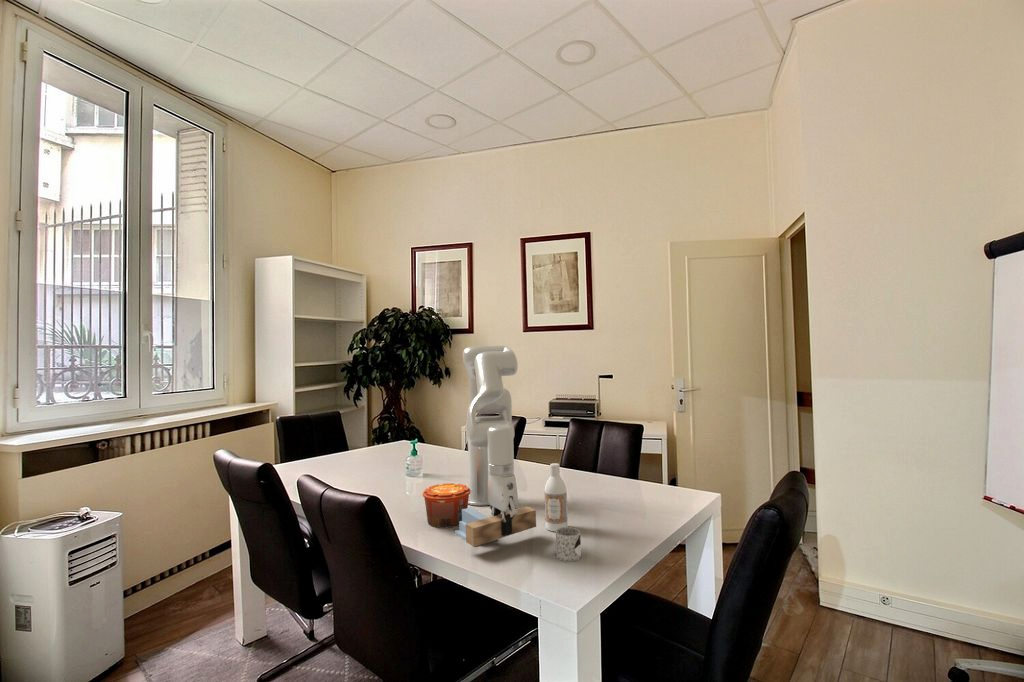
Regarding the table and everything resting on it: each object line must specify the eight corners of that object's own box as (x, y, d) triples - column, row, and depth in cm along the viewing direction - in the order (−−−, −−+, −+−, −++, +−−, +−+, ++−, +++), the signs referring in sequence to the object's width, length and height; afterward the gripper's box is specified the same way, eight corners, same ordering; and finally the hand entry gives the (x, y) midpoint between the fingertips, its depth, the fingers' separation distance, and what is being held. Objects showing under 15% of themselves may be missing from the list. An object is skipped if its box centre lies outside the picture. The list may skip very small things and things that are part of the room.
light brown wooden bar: (527, 522, 146) (527, 506, 146) (536, 526, 142) (535, 509, 142) (466, 542, 133) (465, 524, 133) (473, 546, 129) (473, 528, 129)
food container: (469, 511, 168) (468, 481, 168) (473, 527, 152) (472, 493, 153) (423, 515, 165) (422, 484, 166) (422, 532, 150) (422, 497, 150)
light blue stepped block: (477, 528, 151) (477, 506, 152) (497, 539, 141) (496, 516, 142) (455, 533, 147) (454, 511, 147) (473, 546, 137) (472, 521, 137)
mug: (580, 562, 125) (580, 536, 125) (555, 561, 126) (554, 535, 126) (581, 546, 135) (580, 523, 135) (558, 546, 136) (557, 522, 136)
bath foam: (543, 531, 147) (541, 466, 148) (548, 523, 154) (546, 461, 155) (565, 533, 145) (563, 467, 146) (569, 525, 152) (567, 462, 153)
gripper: (528, 472, 132) (529, 538, 132) (497, 460, 147) (498, 520, 147) (505, 477, 128) (506, 545, 128) (475, 464, 143) (476, 525, 143)
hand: (502, 531), depth 138 cm, fingers closed on light brown wooden bar, 4 cm apart
